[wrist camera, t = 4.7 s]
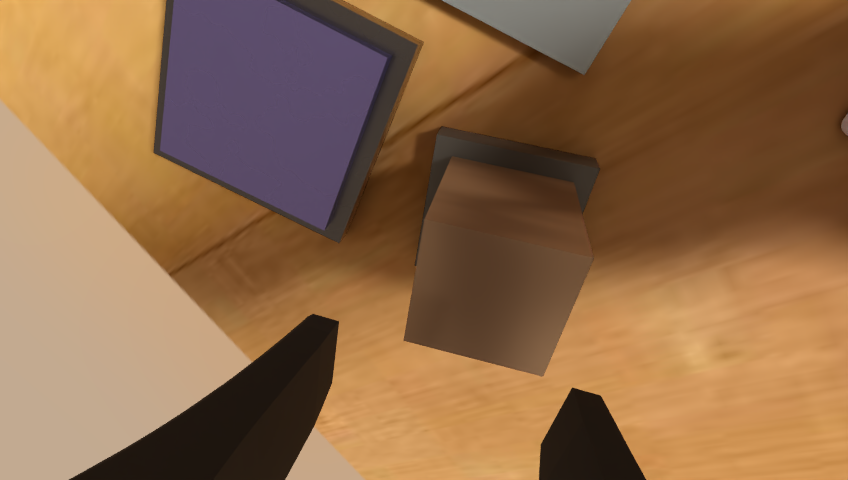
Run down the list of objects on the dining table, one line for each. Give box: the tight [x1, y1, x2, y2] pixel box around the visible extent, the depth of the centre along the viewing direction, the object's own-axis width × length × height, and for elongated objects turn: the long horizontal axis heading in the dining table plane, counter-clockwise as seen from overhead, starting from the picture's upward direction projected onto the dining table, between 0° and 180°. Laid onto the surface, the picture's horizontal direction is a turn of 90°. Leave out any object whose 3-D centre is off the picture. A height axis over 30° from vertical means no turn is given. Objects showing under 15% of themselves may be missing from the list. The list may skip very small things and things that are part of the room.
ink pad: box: [154, 0, 424, 243], centre depth 17 cm, size 9×9×2 cm
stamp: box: [404, 126, 600, 376], centre depth 16 cm, size 6×6×6 cm
